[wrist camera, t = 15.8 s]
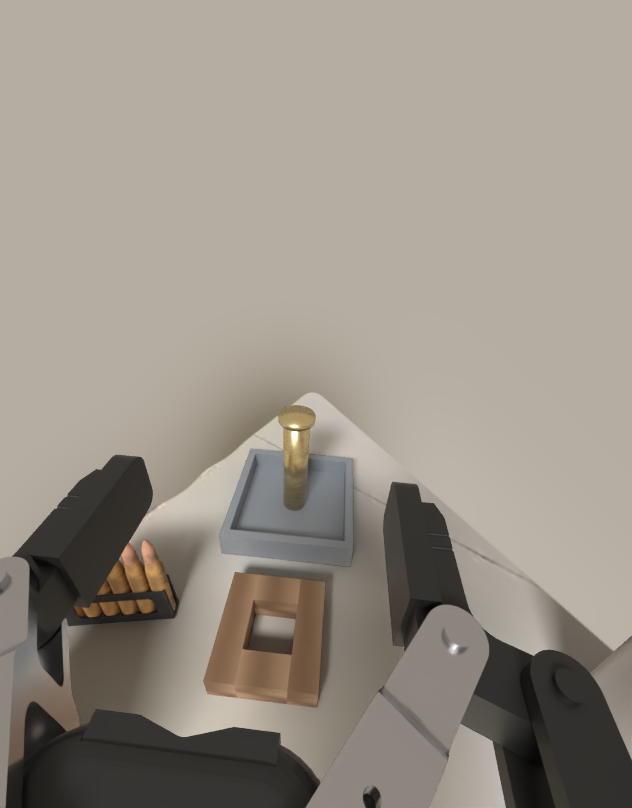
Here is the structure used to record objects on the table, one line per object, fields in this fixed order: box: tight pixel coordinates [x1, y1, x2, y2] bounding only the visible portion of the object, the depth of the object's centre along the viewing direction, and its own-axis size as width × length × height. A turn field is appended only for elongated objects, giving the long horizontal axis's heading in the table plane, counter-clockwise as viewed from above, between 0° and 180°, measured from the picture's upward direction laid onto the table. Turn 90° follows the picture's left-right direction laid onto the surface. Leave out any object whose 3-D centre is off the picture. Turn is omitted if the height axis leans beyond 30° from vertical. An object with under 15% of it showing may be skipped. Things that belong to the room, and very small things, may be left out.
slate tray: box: [219, 449, 353, 567], centre depth 50 cm, size 16×16×4 cm
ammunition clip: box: [66, 540, 179, 626], centre depth 34 cm, size 11×2×12 cm, turn 96°
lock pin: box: [279, 405, 316, 511], centre depth 46 cm, size 4×4×15 cm
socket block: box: [204, 572, 325, 707], centre depth 35 cm, size 10×10×3 cm
